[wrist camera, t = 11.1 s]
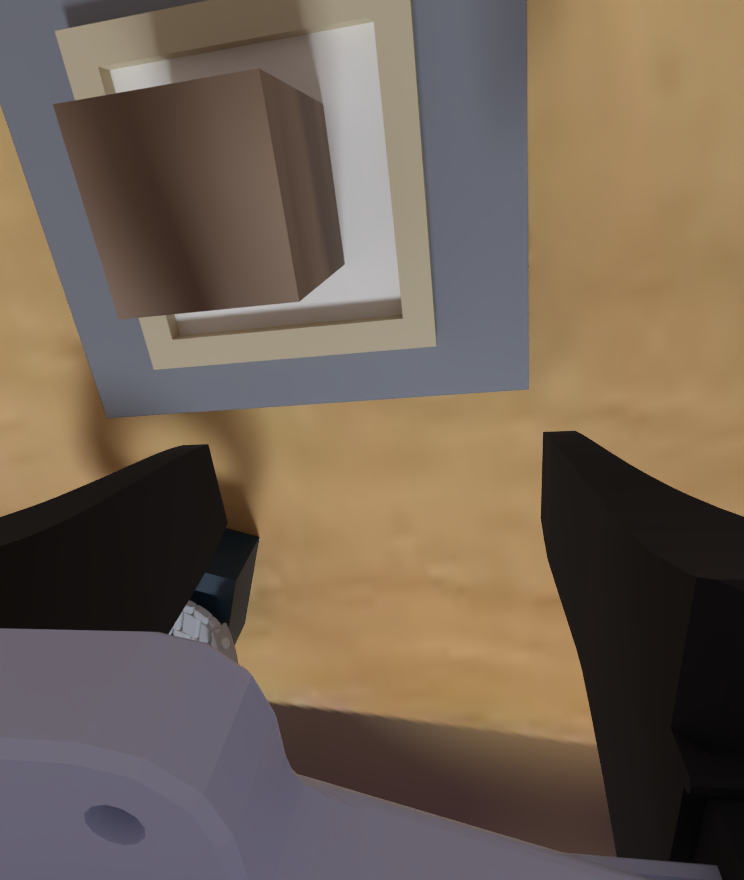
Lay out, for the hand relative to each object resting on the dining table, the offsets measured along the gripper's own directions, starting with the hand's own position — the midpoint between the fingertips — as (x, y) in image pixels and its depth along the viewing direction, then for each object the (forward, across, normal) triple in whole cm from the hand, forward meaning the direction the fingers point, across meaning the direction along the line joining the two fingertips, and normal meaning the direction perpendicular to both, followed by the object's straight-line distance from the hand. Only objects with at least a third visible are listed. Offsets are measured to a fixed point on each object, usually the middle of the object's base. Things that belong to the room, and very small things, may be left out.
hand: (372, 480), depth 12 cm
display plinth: (+10, +4, -6) cm, 12 cm away
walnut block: (+8, +4, -6) cm, 11 cm away
